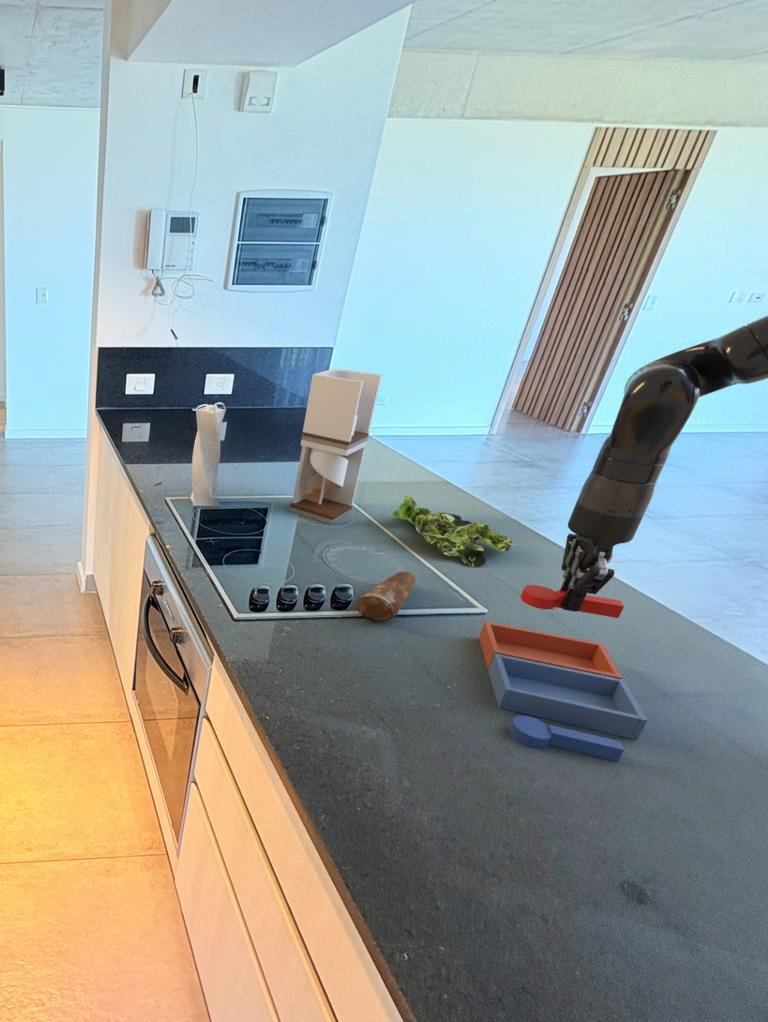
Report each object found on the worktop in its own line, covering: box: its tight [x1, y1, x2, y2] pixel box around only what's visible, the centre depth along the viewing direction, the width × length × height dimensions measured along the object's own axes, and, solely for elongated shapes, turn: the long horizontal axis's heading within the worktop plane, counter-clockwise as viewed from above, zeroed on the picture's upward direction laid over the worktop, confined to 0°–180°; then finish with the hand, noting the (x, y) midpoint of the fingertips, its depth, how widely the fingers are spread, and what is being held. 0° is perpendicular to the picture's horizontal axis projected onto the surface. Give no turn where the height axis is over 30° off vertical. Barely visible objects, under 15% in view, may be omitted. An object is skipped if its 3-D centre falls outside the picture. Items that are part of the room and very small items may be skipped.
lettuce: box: [392, 495, 515, 568], centre depth 142 cm, size 18×25×7 cm
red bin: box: [478, 621, 624, 680], centre depth 101 cm, size 17×10×4 cm, turn 65°
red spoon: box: [520, 584, 625, 619], centre depth 96 cm, size 12×5×2 cm, turn 66°
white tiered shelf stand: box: [288, 367, 383, 525], centre depth 151 cm, size 11×11×35 cm
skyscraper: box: [188, 401, 227, 508], centre depth 159 cm, size 8×8×28 cm
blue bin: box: [487, 653, 649, 740], centre depth 93 cm, size 17×10×4 cm, turn 65°
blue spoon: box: [508, 715, 625, 762], centre depth 86 cm, size 12×5×2 cm, turn 65°
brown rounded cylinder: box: [356, 571, 417, 622], centre depth 118 cm, size 6×19×6 cm, turn 133°
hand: (567, 605), depth 96 cm, fingers closed on red spoon, 2 cm apart
